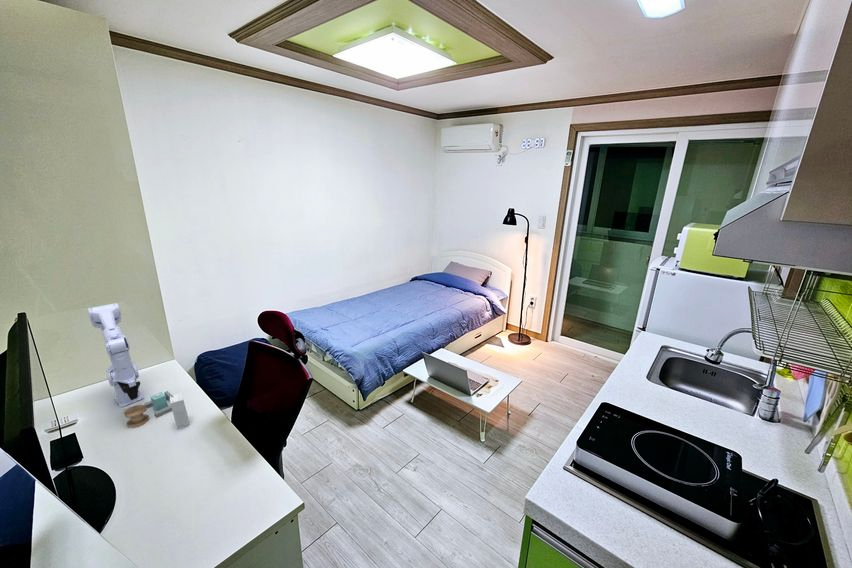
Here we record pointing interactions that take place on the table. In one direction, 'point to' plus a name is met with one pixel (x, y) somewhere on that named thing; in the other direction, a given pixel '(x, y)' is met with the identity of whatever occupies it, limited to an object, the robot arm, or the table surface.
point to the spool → (136, 416)
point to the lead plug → (159, 401)
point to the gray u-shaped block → (164, 410)
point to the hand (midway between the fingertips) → (130, 395)
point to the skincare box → (179, 410)
